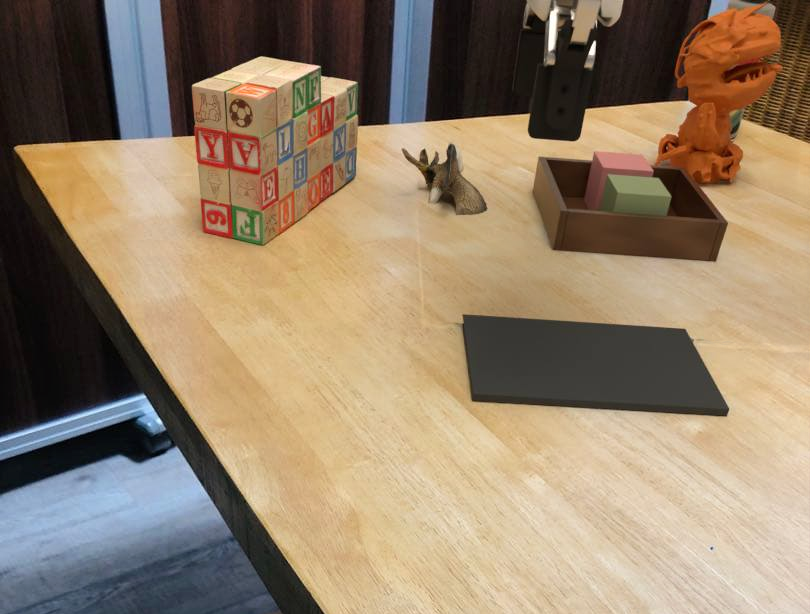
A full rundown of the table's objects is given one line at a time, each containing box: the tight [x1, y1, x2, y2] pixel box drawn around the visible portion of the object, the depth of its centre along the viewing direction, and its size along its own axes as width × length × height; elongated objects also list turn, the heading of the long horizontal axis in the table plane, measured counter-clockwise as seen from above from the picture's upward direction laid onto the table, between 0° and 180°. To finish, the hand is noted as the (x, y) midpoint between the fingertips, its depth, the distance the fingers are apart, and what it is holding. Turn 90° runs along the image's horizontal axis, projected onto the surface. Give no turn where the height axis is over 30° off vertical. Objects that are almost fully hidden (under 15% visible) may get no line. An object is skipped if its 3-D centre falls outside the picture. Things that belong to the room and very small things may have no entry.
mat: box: [461, 313, 730, 417], centre depth 64 cm, size 18×12×1 cm, turn 91°
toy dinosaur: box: [653, 2, 784, 184], centre depth 95 cm, size 11×11×18 cm
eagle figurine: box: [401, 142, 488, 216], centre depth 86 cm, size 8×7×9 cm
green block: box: [599, 174, 672, 216], centre depth 81 cm, size 5×5×5 cm
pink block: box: [584, 150, 654, 211], centre depth 87 cm, size 5×5×5 cm
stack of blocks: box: [191, 56, 359, 246], centre depth 81 cm, size 21×6×12 cm, turn 160°
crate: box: [532, 155, 729, 263], centre depth 85 cm, size 15×15×4 cm
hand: (543, 116), depth 57 cm, fingers open, 9 cm apart
